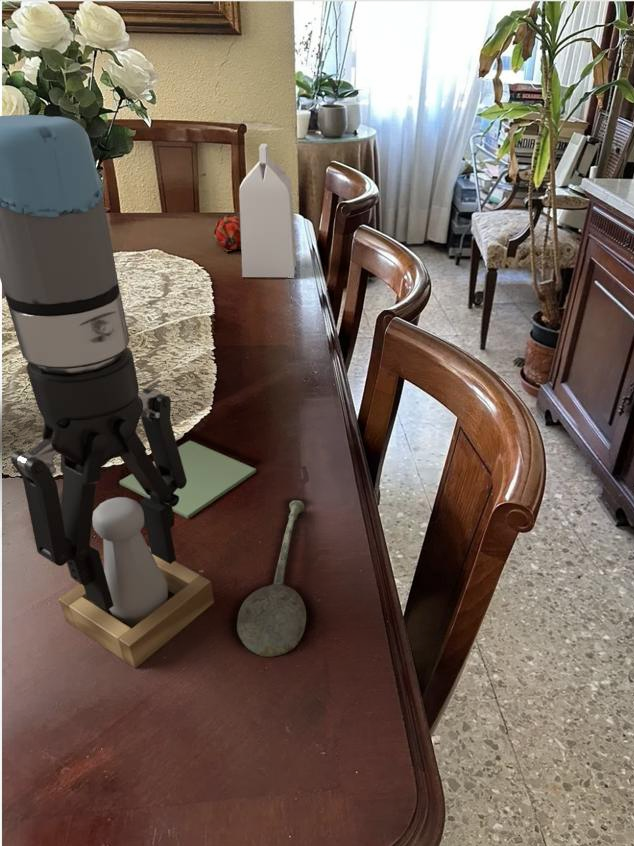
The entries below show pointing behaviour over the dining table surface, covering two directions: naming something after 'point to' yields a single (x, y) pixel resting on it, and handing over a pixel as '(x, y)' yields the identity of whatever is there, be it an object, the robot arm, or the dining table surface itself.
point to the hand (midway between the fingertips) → (133, 578)
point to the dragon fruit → (228, 233)
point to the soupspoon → (274, 608)
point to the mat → (200, 478)
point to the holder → (155, 628)
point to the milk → (267, 220)
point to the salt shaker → (128, 561)
